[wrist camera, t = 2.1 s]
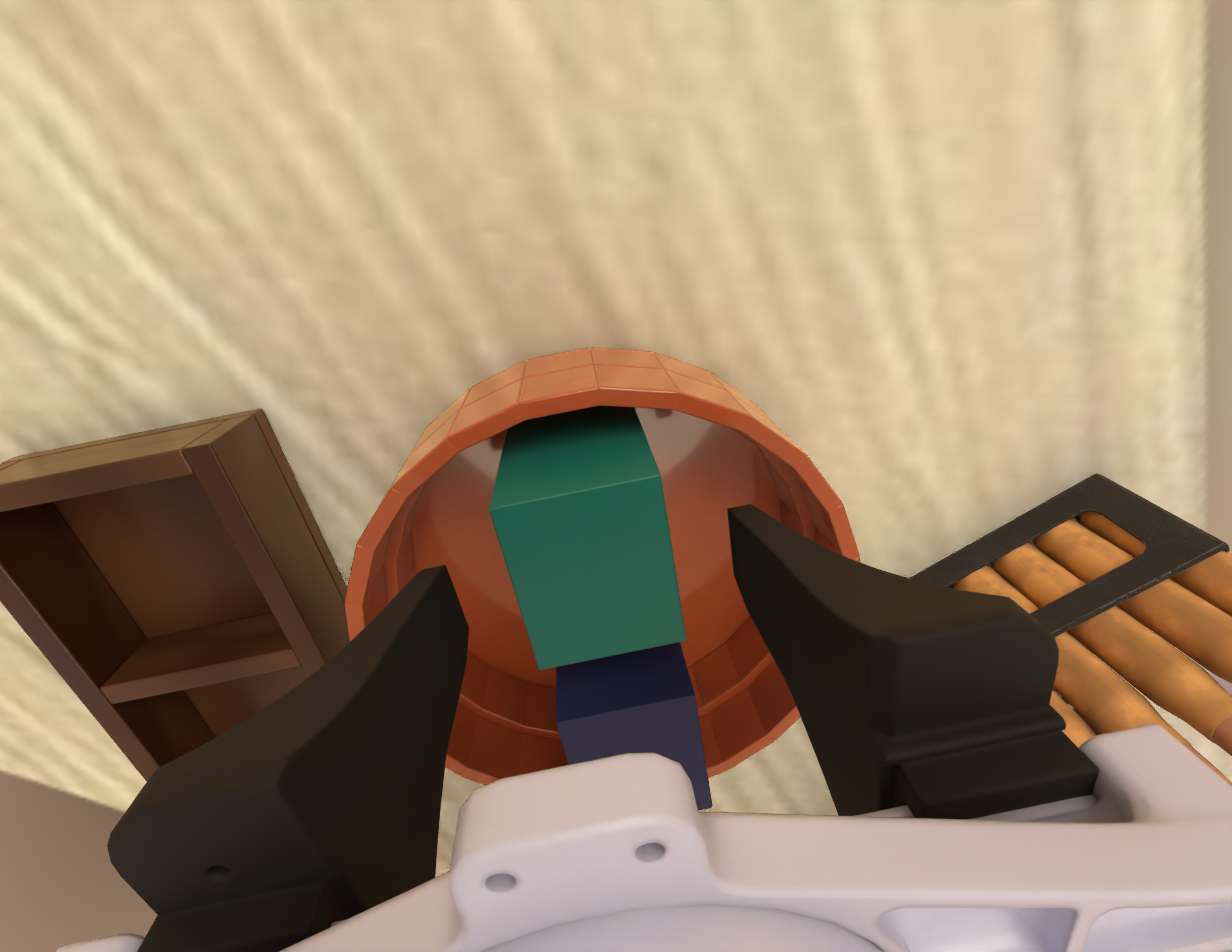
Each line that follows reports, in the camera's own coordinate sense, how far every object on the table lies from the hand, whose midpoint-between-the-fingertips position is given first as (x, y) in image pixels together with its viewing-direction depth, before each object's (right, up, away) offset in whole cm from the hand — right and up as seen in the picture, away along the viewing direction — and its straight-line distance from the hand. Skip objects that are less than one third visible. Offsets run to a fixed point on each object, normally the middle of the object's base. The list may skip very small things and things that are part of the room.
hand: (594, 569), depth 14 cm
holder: (-14, -3, +7) cm, 16 cm away
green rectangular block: (-1, +3, +5) cm, 6 cm away
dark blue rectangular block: (+1, -4, +9) cm, 9 cm away
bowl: (0, 0, +7) cm, 8 cm away
